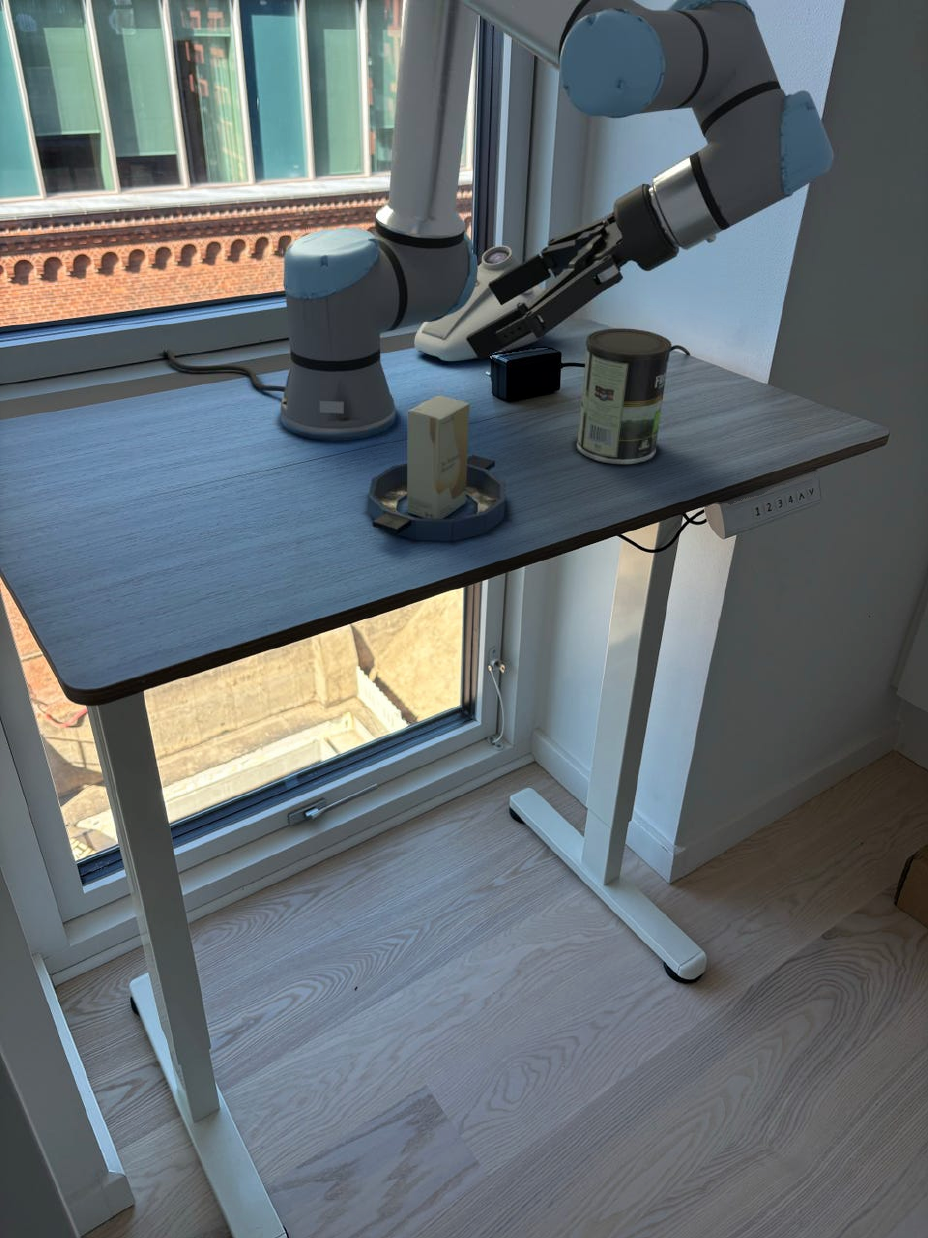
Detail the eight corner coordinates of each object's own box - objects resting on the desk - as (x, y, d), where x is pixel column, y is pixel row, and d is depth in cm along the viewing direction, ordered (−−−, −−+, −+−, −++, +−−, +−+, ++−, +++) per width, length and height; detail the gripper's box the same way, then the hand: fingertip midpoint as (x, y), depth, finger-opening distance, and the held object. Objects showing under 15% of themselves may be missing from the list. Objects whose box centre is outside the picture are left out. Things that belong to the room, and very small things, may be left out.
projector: (410, 322, 166) (410, 232, 158) (541, 322, 168) (548, 234, 160) (415, 367, 148) (415, 268, 140) (563, 366, 150) (571, 269, 142)
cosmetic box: (437, 524, 107) (439, 420, 100) (405, 513, 109) (404, 410, 102) (468, 502, 112) (471, 401, 105) (437, 492, 114) (438, 392, 107)
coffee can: (657, 436, 129) (672, 331, 121) (654, 469, 120) (670, 358, 112) (580, 428, 130) (590, 323, 122) (571, 460, 122) (582, 350, 114)
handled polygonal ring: (328, 525, 106) (327, 505, 105) (430, 460, 121) (430, 442, 120) (445, 565, 100) (445, 545, 99) (538, 491, 114) (539, 473, 113)
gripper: (680, 303, 86) (484, 404, 97) (685, 207, 105) (519, 301, 115) (641, 229, 83) (441, 342, 93) (653, 143, 101) (485, 246, 111)
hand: (484, 319), depth 104 cm, fingers open, 13 cm apart
